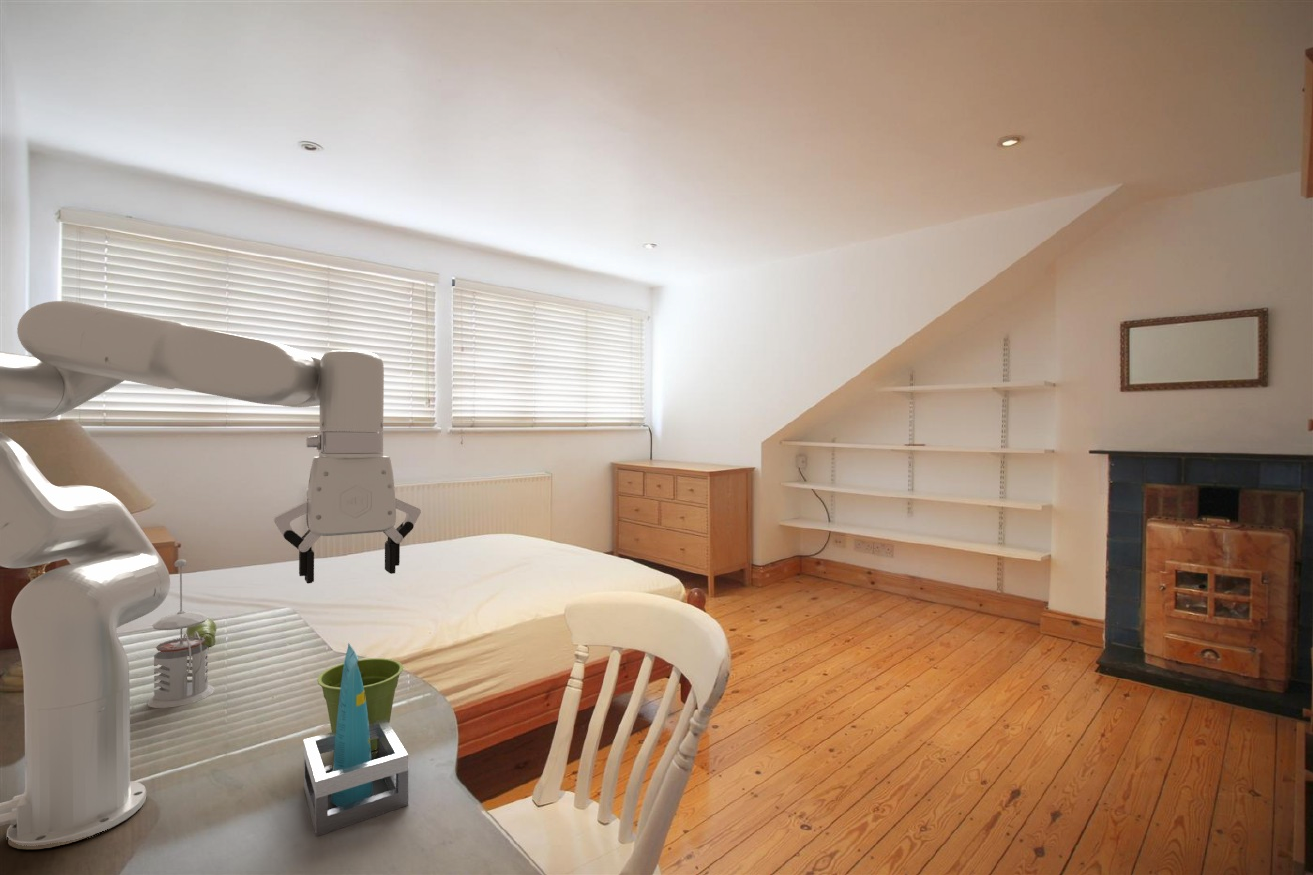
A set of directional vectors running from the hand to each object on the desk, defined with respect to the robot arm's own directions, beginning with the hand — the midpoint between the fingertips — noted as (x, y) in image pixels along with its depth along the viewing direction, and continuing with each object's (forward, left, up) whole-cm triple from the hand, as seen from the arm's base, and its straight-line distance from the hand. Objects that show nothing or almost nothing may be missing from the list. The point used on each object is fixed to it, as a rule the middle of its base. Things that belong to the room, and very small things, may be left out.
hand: (350, 576), depth 81 cm
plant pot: (+4, +14, -29) cm, 33 cm away
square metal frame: (0, 0, -29) cm, 29 cm away
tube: (0, 0, -29) cm, 29 cm away
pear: (-17, +86, -29) cm, 93 cm away
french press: (-19, +52, -29) cm, 63 cm away
